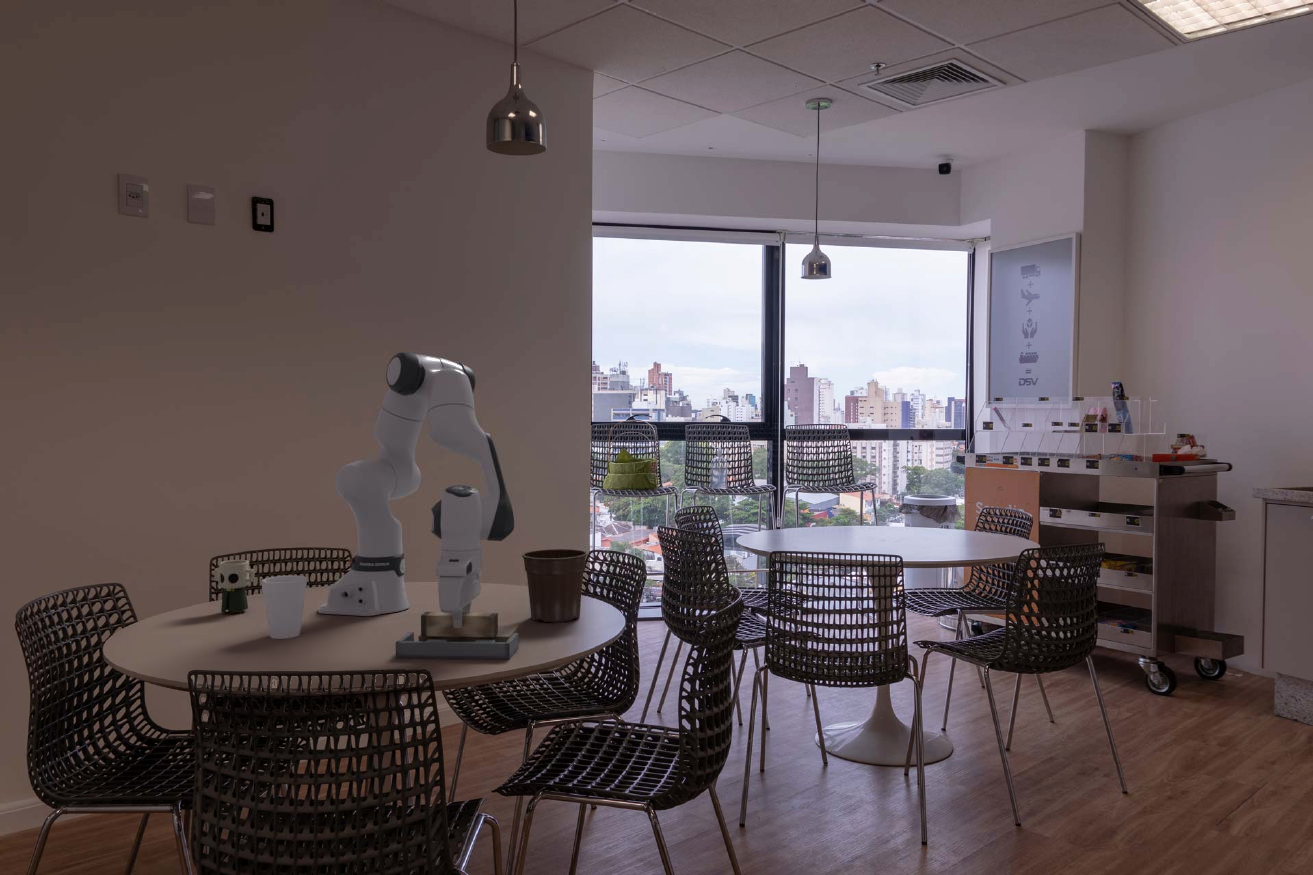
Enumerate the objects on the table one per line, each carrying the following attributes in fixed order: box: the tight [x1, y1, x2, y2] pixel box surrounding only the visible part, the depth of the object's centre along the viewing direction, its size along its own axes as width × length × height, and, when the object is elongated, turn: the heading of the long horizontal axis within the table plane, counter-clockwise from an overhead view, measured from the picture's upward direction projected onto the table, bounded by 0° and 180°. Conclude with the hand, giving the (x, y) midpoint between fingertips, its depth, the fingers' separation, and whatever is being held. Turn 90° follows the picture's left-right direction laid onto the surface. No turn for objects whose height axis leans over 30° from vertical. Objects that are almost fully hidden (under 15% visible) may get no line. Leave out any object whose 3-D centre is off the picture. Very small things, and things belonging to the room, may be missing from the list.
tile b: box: [475, 640, 495, 642], centre depth 197 cm, size 4×4×2 cm
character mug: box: [213, 559, 255, 614], centre depth 236 cm, size 11×7×13 cm, turn 82°
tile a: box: [426, 639, 447, 642], centre depth 198 cm, size 4×4×2 cm
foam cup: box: [261, 575, 308, 640], centre depth 212 cm, size 10×9×13 cm
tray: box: [395, 631, 519, 661], centre depth 196 cm, size 24×9×3 cm, turn 87°
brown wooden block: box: [420, 611, 499, 637], centre depth 201 cm, size 16×4×4 cm, turn 86°
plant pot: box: [521, 548, 588, 623], centre depth 230 cm, size 16×16×16 cm
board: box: [418, 625, 520, 642], centre depth 206 cm, size 20×10×2 cm, turn 87°
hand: (461, 624), depth 201 cm, fingers closed on brown wooden block, 3 cm apart
